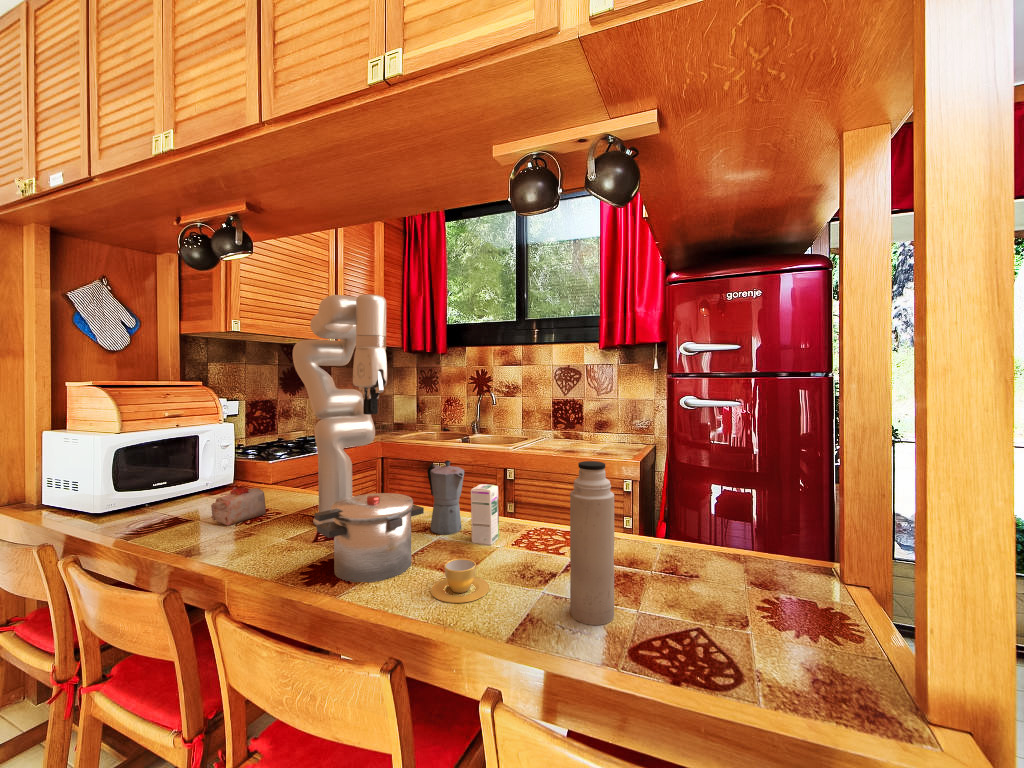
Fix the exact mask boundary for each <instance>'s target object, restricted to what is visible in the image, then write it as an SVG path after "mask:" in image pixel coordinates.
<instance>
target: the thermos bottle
mask: <svg viewBox="0 0 1024 768" xmlns="http://www.w3.org/2000/svg"><path fill="white" fill-rule="evenodd" d="M577 467H578V468H579V470H578V477H577V478H575V479H574V480H573V486H572V487H573V490H571V491H570V494H569V497H570V498H569V499H570V500H569V501H570V502H569V505H570V507H569V509H570V510H569V511H570V513H569V514H570V515H569V517H570V519H569V520H570V521H569V522H570V523H569V524H570V525H569V531H570V532H569V534H570V535H569V541H570V542H569V543H570V545H569V549H570V550H569V552H570V553H569V557H570V558H569V559H570V573H569V574H570V575H569V576H570V580H569V583H570V587H569V591H570V593H569V596H570V598H569V602H570V603H569V608H570V610H569V611H570V615H571V617H572V618H573V619H575V620H576V621H577V622H579V623H582V624H585V625H588V626H589V625H590V626H602V625H607V624H608V623H610V622H612V621H613V620H614V617H615V561H614V558H615V554H614V553H615V493H614V492H612V490H611V488H612V485H611V481H610V479H608V478H606V477H607V476H606V470H605V469H606V463H605V462H603V461H602V462H601V461H598V460H597V461H595V460H585V461H579V462H578V466H577Z"/></svg>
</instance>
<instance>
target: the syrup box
mask: <svg viewBox="0 0 1024 768" xmlns="http://www.w3.org/2000/svg"><path fill="white" fill-rule="evenodd" d="M499 507H500V506H499V486H498V485H495V484H487V483H484V484H483V483H480V484H477V486H474V487H473V488H471V489H470V509H471V510H470V511H471V512H470V514H471V515H470V516H471V518H470V519H471V520H470V521H471V522H470V523H471V542H472V543H473V544H477V545H487V546H492V545H493V544H494V543H495V542H496V541H497V540H498V539H499V538H500V520H499V519H500V516H499V514H500V511H499Z"/></svg>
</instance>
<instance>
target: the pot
mask: <svg viewBox="0 0 1024 768" xmlns="http://www.w3.org/2000/svg"><path fill="white" fill-rule="evenodd" d="M424 511H425V510H424V507H422V506H419V505H417V504H414V503H413V510H412V511H411V512H409V513H407V514H405V515H403V516H400V517H397V518H393V519H388V520H383V521H375V522H346V521H341V520H337V519H335V518H334V521H332V522H327V523H323V524H319V525H317V526H316V532H317V533H319V534H321V535H322V536H324V537H326V538H327V539H330V538H333V555H334V557H333V559H334V560H333V561H334V563H333V565H334V567H333V568H334V576H336V577H337V578H338V579H339V578H340V580H341V579H342V581H344V580H345V581H344V582H348V581H351V582H350V583H356V582H368V583H376V581H377V582H382V581H386V580H385V579H387V580H390V579H393V578H395V576H396V577H398V576H400V575H402V574H404V573H406V572H407V571H408V570H409V569H410V568H411V566H412V517H416V516H419V515H423V514H424ZM409 567H410V568H409ZM408 568H409V569H408ZM407 569H408V570H407ZM406 570H407V571H406ZM403 572H404V573H403ZM401 573H402V574H401ZM397 575H398V576H397ZM392 577H393V578H392ZM389 578H390V579H389ZM381 580H382V581H381Z"/></svg>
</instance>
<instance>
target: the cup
mask: <svg viewBox="0 0 1024 768" xmlns="http://www.w3.org/2000/svg"><path fill="white" fill-rule="evenodd" d="M476 568H477V563H476V561H474V560H472V559H469V558H455V559H450V560H448V561H446V562H445V563H444V567H443V569H444V574H445V578H443V579H440V580H439V581H437V582H435V583H434V584H433V585H432V587H431V588H430V594H431V595H432V596H433V598H435V599H437V600H439V601H442V602H444V603H453V604H455V603H456V604H457V603H459V604H460V603H469V602H473V601H476V600H479V599H481V598H482V597H484V596H486V595H487V594H488V593H489V591H490V584H489V583H488V582H487V581H486V580H484V579H482V578H480V577H478V576H476ZM471 584H473V585H474V586H475V587H476V589H475V588H474V590H475V591H474V590H473V591H474V592H473V591H472V592H471V593H469V594H466V596H465V595H458V596H457V595H452V596H451V594H449V593H448V592H447V593H448V594H447V593H445V591H444V590H443V589H444V587H445V586H446V585H449V586H448V587H449V588H450V590H451V591H452V592H454V593H457V594H463V593H466V592H467V591H469V590H470V588H471V586H473V585H471ZM474 586H473V587H474Z"/></svg>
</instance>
